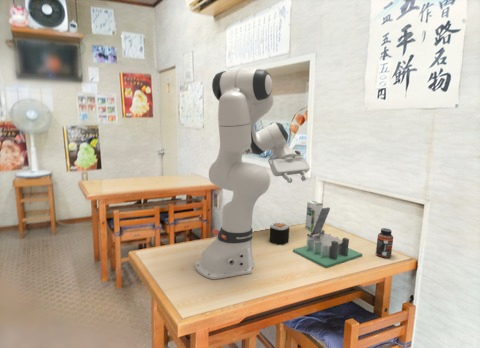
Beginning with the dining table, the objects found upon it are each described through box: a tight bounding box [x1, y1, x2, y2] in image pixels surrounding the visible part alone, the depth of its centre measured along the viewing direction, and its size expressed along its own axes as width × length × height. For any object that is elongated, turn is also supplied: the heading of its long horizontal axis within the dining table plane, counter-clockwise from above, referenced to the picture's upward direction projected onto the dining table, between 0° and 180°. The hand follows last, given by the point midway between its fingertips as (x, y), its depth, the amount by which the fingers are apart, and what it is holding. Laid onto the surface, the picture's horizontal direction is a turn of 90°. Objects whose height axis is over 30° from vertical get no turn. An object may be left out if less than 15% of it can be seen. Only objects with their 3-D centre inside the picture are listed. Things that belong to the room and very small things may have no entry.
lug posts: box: [330, 237, 350, 260], centre depth 137 cm, size 8×2×7 cm, turn 124°
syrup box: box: [304, 199, 324, 233], centre depth 171 cm, size 6×6×14 cm
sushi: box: [268, 222, 290, 246], centre depth 154 cm, size 8×8×8 cm
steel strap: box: [311, 207, 331, 235], centre depth 144 cm, size 4×13×1 cm
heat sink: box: [305, 229, 342, 258], centre depth 143 cm, size 14×13×6 cm
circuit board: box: [292, 245, 363, 269], centre depth 142 cm, size 22×18×1 cm
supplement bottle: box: [375, 227, 394, 259], centre depth 142 cm, size 6×6×11 cm
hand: (297, 181), depth 154 cm, fingers open, 7 cm apart
